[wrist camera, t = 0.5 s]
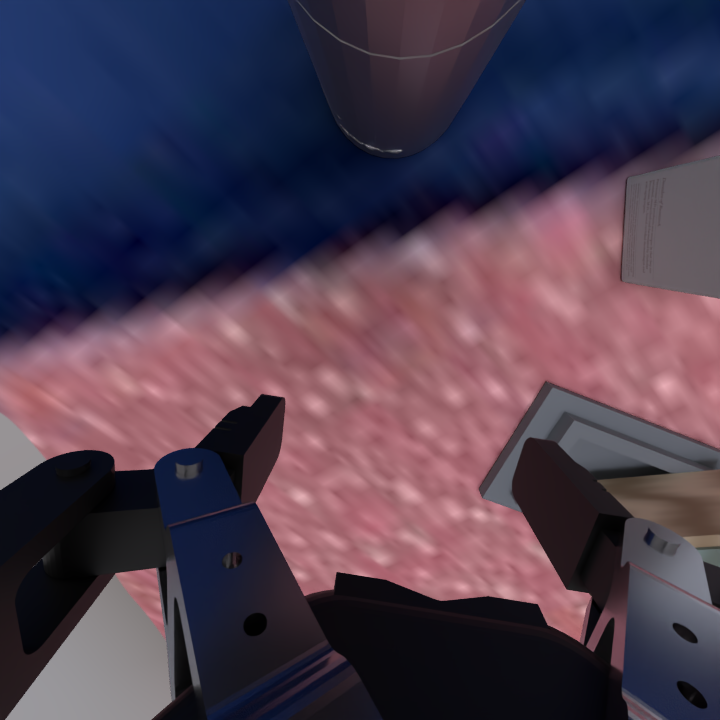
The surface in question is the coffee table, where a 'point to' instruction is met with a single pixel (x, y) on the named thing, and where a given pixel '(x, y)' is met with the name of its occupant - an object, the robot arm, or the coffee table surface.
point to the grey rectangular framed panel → (596, 443)
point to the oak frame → (676, 505)
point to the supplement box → (674, 228)
